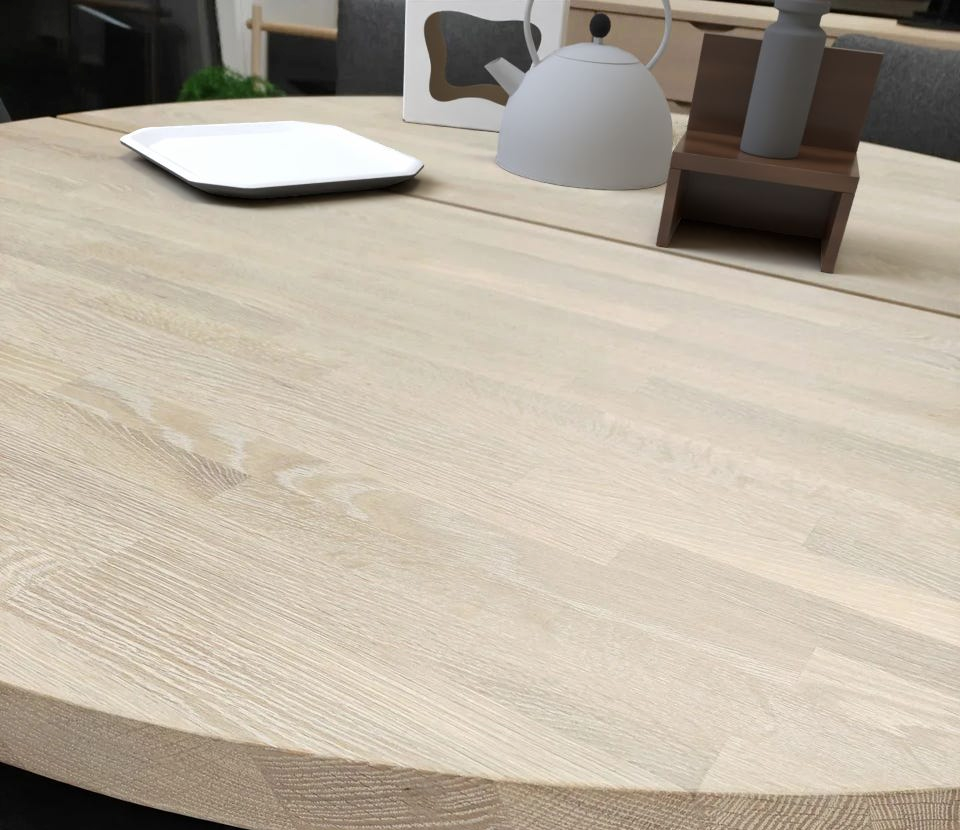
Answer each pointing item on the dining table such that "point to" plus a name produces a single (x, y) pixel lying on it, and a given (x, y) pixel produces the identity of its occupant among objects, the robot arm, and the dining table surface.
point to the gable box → (428, 57)
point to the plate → (272, 158)
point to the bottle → (785, 79)
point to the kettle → (586, 114)
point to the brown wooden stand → (768, 181)
